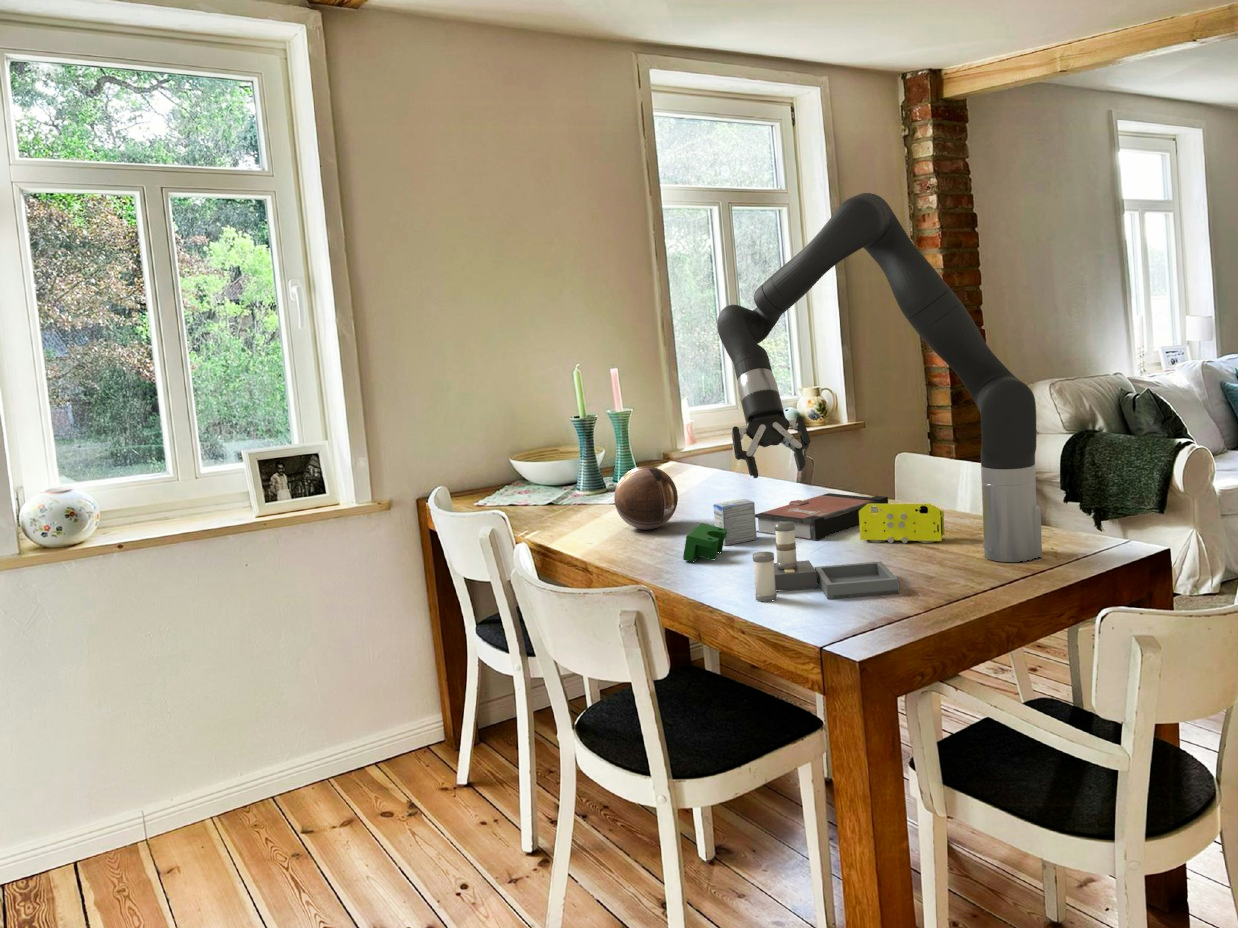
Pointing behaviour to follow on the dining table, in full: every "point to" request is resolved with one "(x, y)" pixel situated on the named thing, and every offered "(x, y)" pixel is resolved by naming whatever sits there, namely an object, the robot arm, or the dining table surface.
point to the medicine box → (736, 520)
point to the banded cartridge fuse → (785, 545)
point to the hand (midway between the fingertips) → (778, 473)
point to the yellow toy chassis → (901, 523)
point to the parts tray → (856, 580)
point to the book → (818, 515)
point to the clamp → (704, 542)
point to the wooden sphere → (646, 497)
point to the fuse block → (796, 577)
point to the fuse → (764, 576)
